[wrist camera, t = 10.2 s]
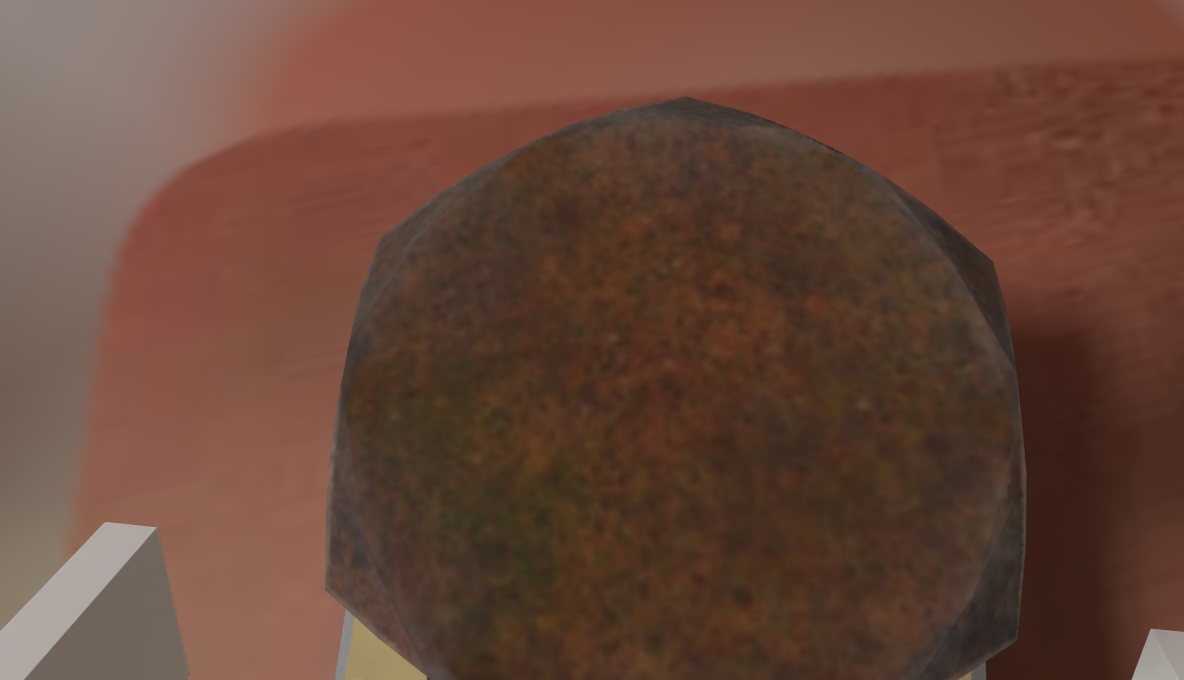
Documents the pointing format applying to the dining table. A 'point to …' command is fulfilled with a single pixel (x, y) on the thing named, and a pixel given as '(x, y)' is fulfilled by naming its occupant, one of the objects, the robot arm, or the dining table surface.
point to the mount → (382, 676)
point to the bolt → (679, 418)
